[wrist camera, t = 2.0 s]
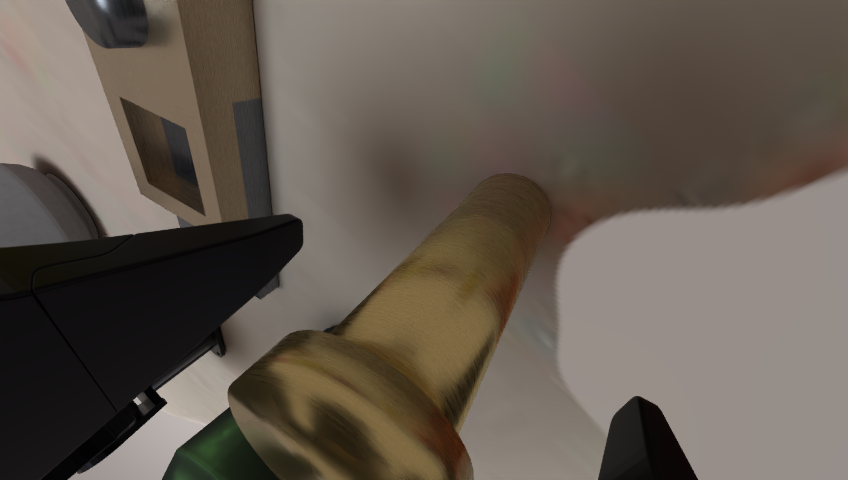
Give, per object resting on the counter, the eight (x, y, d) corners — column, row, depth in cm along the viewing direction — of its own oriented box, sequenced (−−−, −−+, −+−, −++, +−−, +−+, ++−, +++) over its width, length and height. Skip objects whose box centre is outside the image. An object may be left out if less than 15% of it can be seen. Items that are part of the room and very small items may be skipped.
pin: (539, 275, 13) (415, 596, 6) (448, 233, 14) (244, 455, 7) (587, 185, 11) (485, 531, 3) (474, 143, 12) (206, 331, 4)
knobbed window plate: (278, 286, 23) (225, 324, 20) (208, 243, 25) (149, 272, 22) (246, -56, 13) (123, -84, 10) (128, -85, 14) (-6, -116, 11)
